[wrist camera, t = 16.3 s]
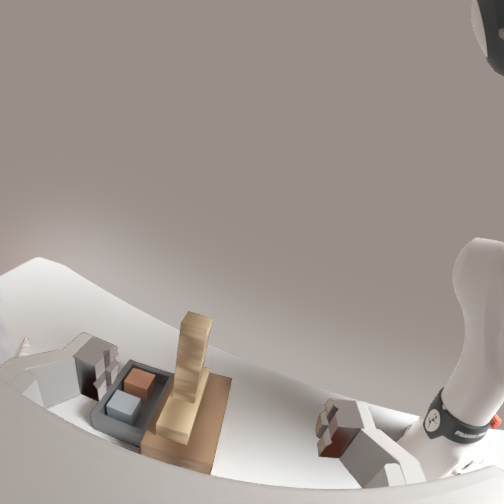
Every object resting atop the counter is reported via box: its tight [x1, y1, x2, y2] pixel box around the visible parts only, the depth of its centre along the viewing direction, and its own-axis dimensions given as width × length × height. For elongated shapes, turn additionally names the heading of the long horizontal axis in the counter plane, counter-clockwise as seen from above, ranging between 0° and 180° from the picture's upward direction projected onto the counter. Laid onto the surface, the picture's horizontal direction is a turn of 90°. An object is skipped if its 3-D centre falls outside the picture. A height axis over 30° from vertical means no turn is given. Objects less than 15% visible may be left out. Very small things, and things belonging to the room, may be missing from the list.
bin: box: [90, 360, 174, 448], centre depth 39 cm, size 9×15×4 cm, turn 175°
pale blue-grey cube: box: [106, 390, 141, 426], centre depth 36 cm, size 4×4×3 cm
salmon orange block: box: [124, 368, 155, 402], centre depth 42 cm, size 4×4×3 cm
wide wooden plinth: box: [140, 373, 232, 475], centre depth 37 cm, size 9×18×6 cm, turn 175°
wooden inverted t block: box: [156, 312, 212, 445], centre depth 35 cm, size 4×14×14 cm, turn 175°
